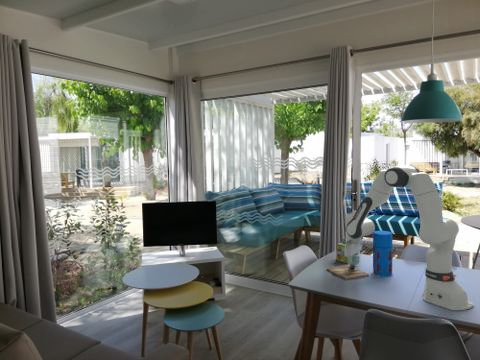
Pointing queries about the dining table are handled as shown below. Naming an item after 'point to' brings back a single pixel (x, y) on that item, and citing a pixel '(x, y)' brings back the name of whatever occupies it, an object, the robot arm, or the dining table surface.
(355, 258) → the rotary switch
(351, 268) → the metal door knob
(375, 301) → the dining table surface
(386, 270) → the thermos
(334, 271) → the board
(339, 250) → the chalk box
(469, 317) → the dining table surface
